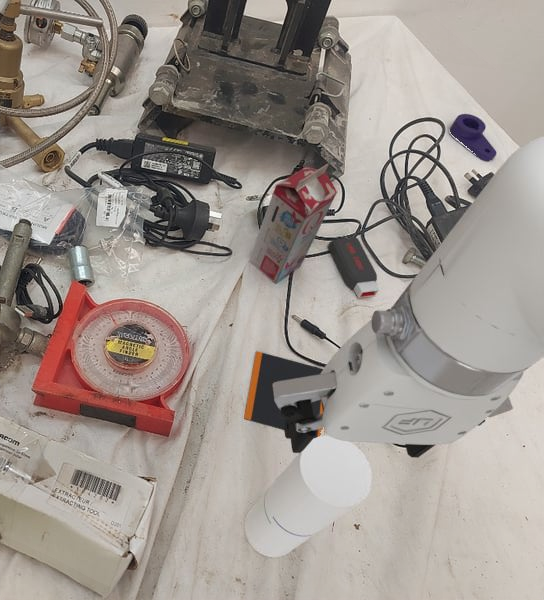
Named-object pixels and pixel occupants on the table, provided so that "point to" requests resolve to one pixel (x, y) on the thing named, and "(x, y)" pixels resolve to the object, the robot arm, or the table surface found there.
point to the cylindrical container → (308, 496)
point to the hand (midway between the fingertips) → (351, 437)
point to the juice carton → (292, 222)
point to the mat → (261, 388)
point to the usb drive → (354, 266)
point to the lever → (473, 136)
